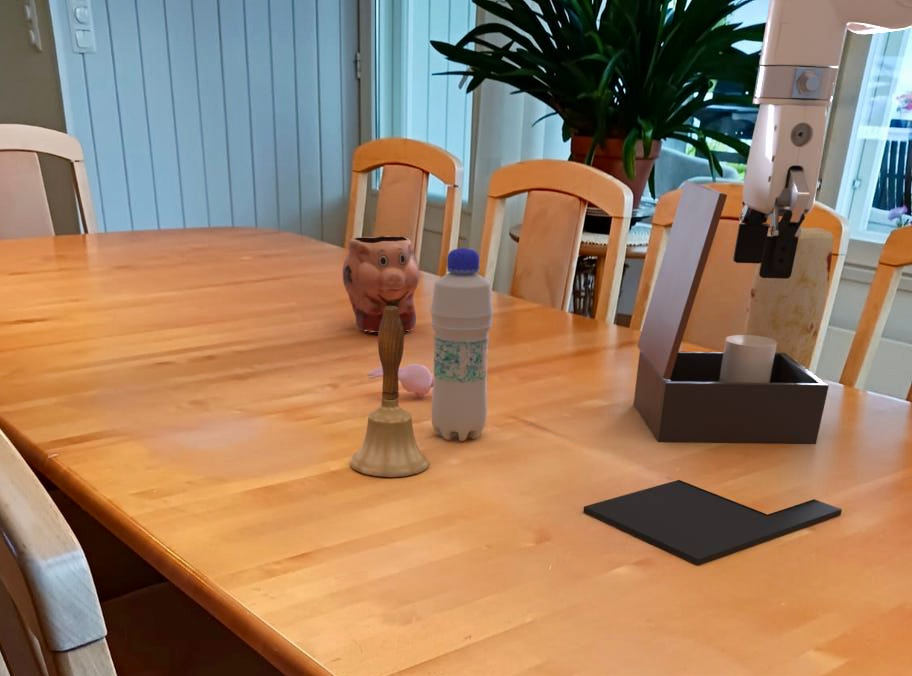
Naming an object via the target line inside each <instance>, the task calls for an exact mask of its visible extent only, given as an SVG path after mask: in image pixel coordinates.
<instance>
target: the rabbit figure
mask: <svg viewBox="0 0 912 676" xmlns="http://www.w3.org/2000/svg"><path fill="white" fill-rule="evenodd" d="M366 376H367V377H368V379H369V380H373V379H376V378H380V377H382V378H383V369H382V366H378V367H376V368H374V369H372V370H370V371H369V372H368V373H367V374H366ZM399 381H400V384H401V386H402V388H403V389H404V390H405V391H406V392H408V393H409V392H411V393H414V394H415V396H416V397H421V398H424V397H425V396H426V395H427V394H429V393H430V392H431V388H433V383H434V377H432V373H431V371H430V370H429V368H427V367H426V366H425V365H423V364H419V363H412V364H407V365H406V366H404V367H399V371H398V382H399Z"/></svg>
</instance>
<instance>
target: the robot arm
mask: <svg viewBox="0 0 912 676" xmlns="http://www.w3.org/2000/svg"><path fill="white" fill-rule="evenodd" d="M909 28H912V0H769V4H768V10H767V16H766V23H765V29H764V34H763V40H762V46H761V50H760V56H759V57H760V58H759V63H758V64H759V65H758V67H757V75H756V79H755V87H754V91H753V99H752V105H759V109H758V113H757V116H756V119H755V120H756V121H755V124H754V130H753V134H752V138H751V142H750V147H749V152H748V156H747V162H746V168H745V172H744V173H745V174H744V179H743V185H742V186H743V187H742V197H741V198H742V202H741V203H742V206H743V208H742V210H741V213H740V215H739V224H738V229H737V235H736V240H735V246H734V252H733V257H732V258H733V262H734V263H736V264H757V263H758V264H759V263H761V266H760V271H759V275H760V277H762V278H780V279H788V278H790V276H791V273H792V268H793V263H794V259H795V254H796V249H797V244H798V239H799V236H800V234H801V228H802V223H803V222H804V221H805V219H806V216H807V215H808V214H809V213H811V212H812V210H813V209H814V206H815V200H816V195H817V188H818V183H819V178H820V170H821V164H822V157H823V152H824V144H825V137H826V128H827V127H826V125H827V107H831V106H832V100H833V96H834V91H835V86H836V81H837V76H838V71H839V66H840V60H841V57H842V51H843V46H844V42H845V37H846V34H847V33H846V32H847V30H849V31H850V32H853V33H856V34H860V35H867V34H868V35H869V34H876V33H888V32H894V31H902V30H907V29H909ZM780 217H781V218H780ZM768 220H769V224H767V222H768ZM768 233H770V236H767V235H768Z"/></svg>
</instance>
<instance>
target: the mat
mask: <svg viewBox="0 0 912 676" xmlns="http://www.w3.org/2000/svg"><path fill="white" fill-rule="evenodd" d="M842 511H843V510H842V508H841V507H840V508H839V507H837V506H835V505H831V504H829V503H826V502H823V501H820V500H819V499H818V500H817V499H815V498H813V499H810V500H807V501H805V502H801V503H797V504H795V505H793V506H789V507H787V508H782V509H780V510H777V511H774V512H770V513H765V512H763V511H760V510H757V509H755V508H752V507H750V506H747V505H745V504H742V503H739V502H737V501H735V500H731V499H730V498H726V497H724V496H722V495H719V494H716V493H714V492H712V491H709V490H707V489H704V488H701V487H698V486H696V485H693V484H691V483H689V482H686V481H683V480H681V479H676V480H673V481H669V482H666V483H662V484H659V485H655V486H652V487H651V486H650V487H648V488H645V489H641V490H638V491H634V492H631V493H627V494H624V495H620V496H616V497H612V498H610V499H609V498H608V499H607V500H606V499H605V500H601V501H598V502H595V503H592V504H591V503H590V504H588V505H585V506H583V513H584V514H585V515H588V516H591V517H593V518H595V519H597V520H599V521H601V522H604V523H606V524H608V525H610V526H613V527H615V528H617V529H618V530H620V531H623V532H625V533H627V534H629V535H632V536H633V537H636V538H638V539H640V540H643V541H645V542H647V543H648V544H651V545H653V546H656V547H657V548H660V549H661V550H664V551H666V552H668V553H670V554H673V555H674V556H677V557H678V558H681V559H683V560H686V561H688V562H690V563H692V564H694V565H696V566H700V565H702V564H705V563H707V562H710V561H714V560H716V559H719V558H722V557H725V556H728V555H732V554H733V553H736V552H739V551H742V550H745V549H748V548H751V547H753V546H756V545H760V544H762V543H765V542H769V541H771V540H773V539H776V538H779V537H782V536H784V535H785V536H786V535H788V534H790V533H793V532H796V531H799V530H802V529H804V528H807V527H810V526H813V525H815V524H818V523H821V522H825V521H827V520H830V519H833V518H835V517H838V516H841V515H842Z"/></svg>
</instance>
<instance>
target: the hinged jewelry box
mask: <svg viewBox="0 0 912 676" xmlns="http://www.w3.org/2000/svg"><path fill="white" fill-rule="evenodd" d="M638 355H639V356H638V363H637V372H636V378H635V379H636V380H635V388H634V397H633V406H634V408H635V409H636V411H637V412H638V414H639V416H640V417H641V419H642V420H643V422H644V424H645V425H646V426H647V428H648V430H649V431H650V432H651V434H652V435H653V438H654V439H655V441H656V442H657V443H670V444H671V443H672V444H673V443H677V444H678V443H679V444H680V443H682V444H683V443H684V444H756V445H757V444H762V445H763V444H764V445H765V444H766V445H775V444H776V445H816V444H817V441H818V437H819V432H820V426H821V424H822V419H823V418H822V417H823V415H824V409H825V406H826V405H825V404H826V399H827V395H828V391H829V387H830V385H829V384H827V383H826V382H824V380H823V379H821V378H820V377H818V376H817V375H815V374H814V372H811V371H810V370H809V369H807V367H806V368H805V367H803V366H802V365H801V364H799V363H798V362H797V361H795V360H794V359H793V358H791V357H790V356H789V355H787V354H786V353H775V357H774V362H773V368H772V373H771V379H770V383H751V382H719V376H720V370H721V364H722V357H723V351H680V350H679V352H678V355H677V358H676V361H675V364H674V368H673V371H672V374H671V377H670V379H664V378H662V376H661V375H660V374H659V373H658V371H657V370H656V369H655V368H654V366H653V365H652V364H651V363H650V361H649V360H648V359H647V358H646V356H645V355H644V354H643V353H642V352H641V350H639V354H638Z"/></svg>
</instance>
